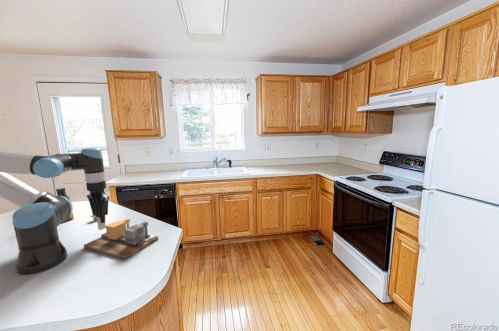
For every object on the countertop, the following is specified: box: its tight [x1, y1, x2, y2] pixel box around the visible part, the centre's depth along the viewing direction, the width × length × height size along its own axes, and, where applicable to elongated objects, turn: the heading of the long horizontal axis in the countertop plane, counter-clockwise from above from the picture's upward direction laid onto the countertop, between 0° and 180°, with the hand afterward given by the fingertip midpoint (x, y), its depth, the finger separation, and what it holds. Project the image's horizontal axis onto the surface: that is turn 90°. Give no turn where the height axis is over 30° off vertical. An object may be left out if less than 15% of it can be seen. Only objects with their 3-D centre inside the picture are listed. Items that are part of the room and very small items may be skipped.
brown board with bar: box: [83, 221, 159, 261], centre depth 102 cm, size 18×26×9 cm
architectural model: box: [90, 212, 97, 221], centre depth 131 cm, size 3×7×7 cm, turn 140°
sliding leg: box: [105, 217, 131, 240], centre depth 104 cm, size 10×5×6 cm, turn 158°
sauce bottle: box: [55, 186, 74, 223], centre depth 130 cm, size 6×6×20 cm
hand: (102, 228), depth 107 cm, fingers closed
